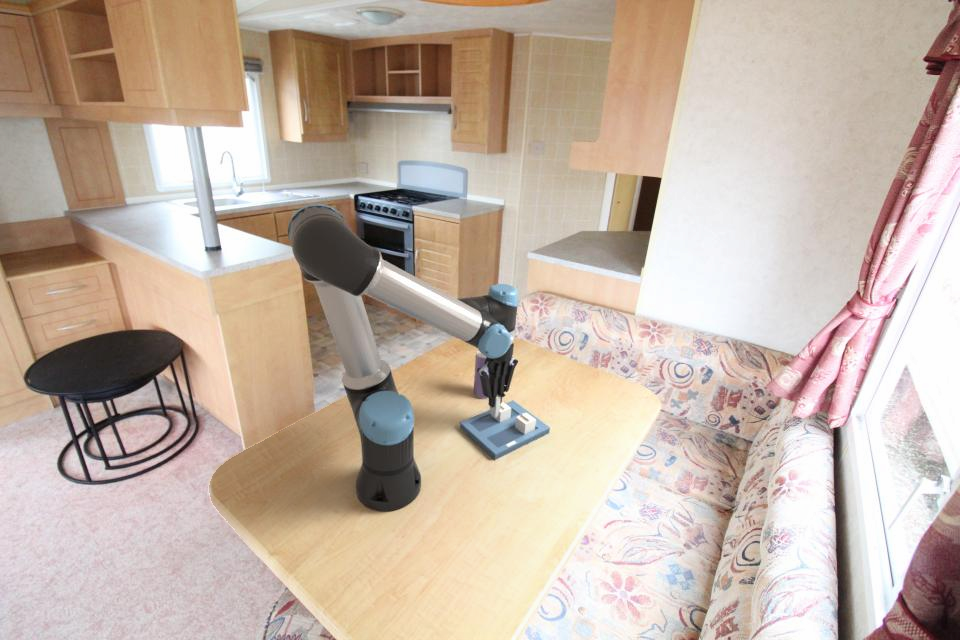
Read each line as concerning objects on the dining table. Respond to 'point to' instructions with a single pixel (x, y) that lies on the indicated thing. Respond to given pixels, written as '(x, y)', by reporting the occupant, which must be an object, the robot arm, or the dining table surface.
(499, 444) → the switch bank
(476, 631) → the dining table surface
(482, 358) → the beverage can
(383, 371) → the robot arm
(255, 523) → the dining table surface
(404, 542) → the dining table surface
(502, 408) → the tab far
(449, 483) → the dining table surface
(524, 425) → the tab near
